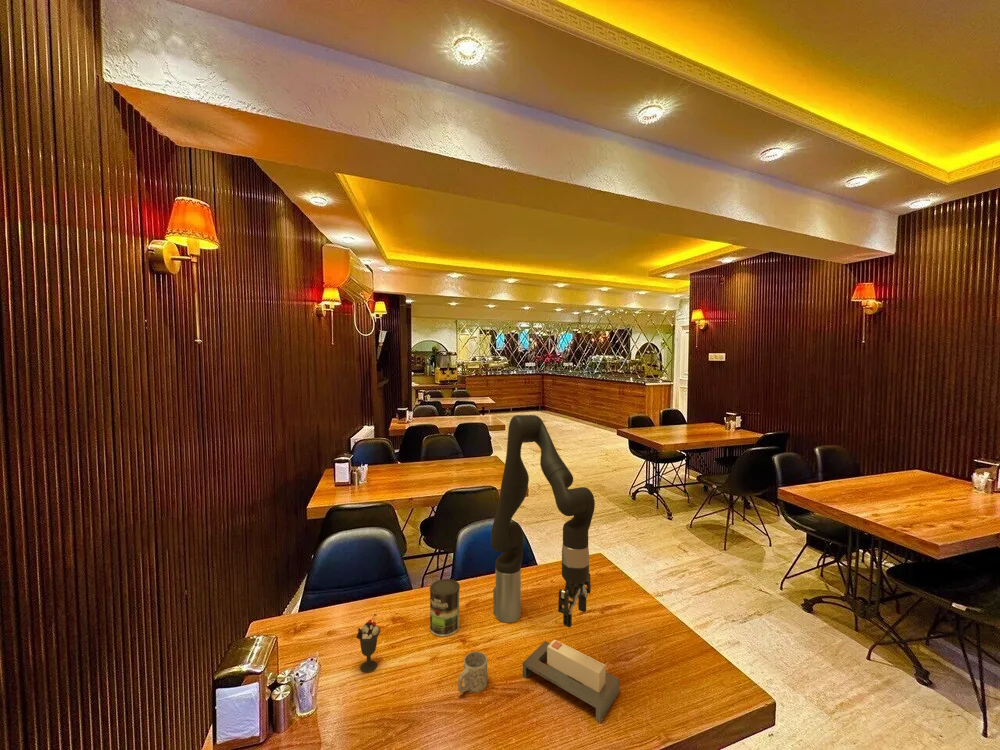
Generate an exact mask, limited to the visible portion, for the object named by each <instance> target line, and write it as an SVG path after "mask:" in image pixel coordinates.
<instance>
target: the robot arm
mask: <svg viewBox="0 0 1000 750" xmlns="http://www.w3.org/2000/svg"><path fill="white" fill-rule="evenodd" d="M523 443H525V444H526V443H536V445H537V446H538V447H539V449H540V462H539V464H540V468H541V471H542V473H543V475H544V477H545V478H546V480H547V482H548V484H549V485H550V487H551V490H552V493H553V496H554V500H555V504H556V507H557V509H558V512H560V514H562V515H563V516H565V517H572V518H571V519H569V520H567V521H566V522H564V524H563V527H562V548H561V577H562V579H564V581H565V585H564V586H565V587H564V589H562V588H560V589H559V590H558V602H557V603H558V605H557V607H558V608H557V610H558V613H560V614H562V615H563V616H562V617H563V621H562V622H563V625H564V627H567V628H571V627H572V626H573V625H572V624H573V615H572V613H573V609H574V606H575V607H576V605H577V604H578V605H577V606H578V610H579V611H580V612H582V613H586V612H587V599H588V597H589V595H590V594H591V591H592V590H591V589H592V586H591V573H590V551H589V531H590V527H591V523H592V520H593V516H594V512H595V506H596V503H595V502H596V501H595V500H596V499H595V497H594V494H593V492H592V491H591V490H590V489H589V488H588V487H585V486H584V487H583V486H580V487H576V488H575V487H574V488H570V487H571V486H572V485H573V483H574V475H572V472H571V471H570V469H569V468H568V467H567V465H566V464H565V461H563V460H562V458H561V456H560V455H559V453H558V450H557V448H556V446H555V445H554V443H553V440H552V437H551V436H550V434H549V431H548V428H547V427H546V425H545V423H544V421H543V420H542V418H541V417H540V416H539V415H537V414H536V415H535V414H518V415H513V416H512V418H511V419H510V421H509V424H508V432H507V443H506V456H505V463H504V468H503V474H502V480H501V484H500V491H499V492H500V493H499V497H498V498H499V499H498V503H497V508H496V512H495V516H494V519H493V522H492V526H491V530H490V543H491V546H492V547H491V548H492V549H493V550H494V551H495V552H496V553H501V554H500V555H498V557H497V558H496V559H495V564H494V565H495V586H494V587H493V589H492V591H493V592H492V593H493V597H492V598H493V600H492V601H493V602H492V603H493V606H492V607H493V608H492V609H493V612H492V613H493V615H494V616H495V617H496V620H498V621H499V620H500V622H502V623H507V624H509V623H510V622H512V623H515V622H518V619H519V618H521V617H520V616H522V615H521V614H522V591H521V588H522V583H521V582H522V580H521V579H522V577H521V575H522V573H521V572H522V571H521V569H522V562H523V560H524V559H523V556H524V533H523V529H522V526H521V525H520V523H519V522H517V521H515V520H514V521H512V519H513V517H514V516H515V514H516V512H517V511H518V510H519V508H520V507H521V505H522V504H523V502H524V501H525V498H526V497H527V491H528V487H529V481H530V476H529V473H528V470H527V468H526V466H525V464H524V461H523V459H522V455H521V454H522V453H521V452H522V445H523ZM588 594H589V595H588ZM570 599H571V600H570ZM577 601H578V603H577ZM519 620H520V619H519ZM514 621H515V622H514Z"/></svg>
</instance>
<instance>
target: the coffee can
mask: <svg viewBox="0 0 1000 750" xmlns="http://www.w3.org/2000/svg"><path fill="white" fill-rule="evenodd" d="M429 586H430V587H429V591H430V596H429V598H430V599H429V601H430V602H429V605H430V607H429V610H430V611H429V631H430V632H431V634H433V635H434V636H436V637H442V638H443V637H450V636H451V635H454V634H455V633H457V632H458V631H459V629H460V589H461V585H460V582H458V581H457V580H455V579H451V578H442V579H441V578H440V579H439V580H436V581H434V582H432V584H430V585H429Z"/></svg>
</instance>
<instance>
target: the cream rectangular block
mask: <svg viewBox="0 0 1000 750" xmlns="http://www.w3.org/2000/svg"><path fill="white" fill-rule="evenodd" d="M549 643H550V644H549V645H548V646H547V657H546V665H548V666H550V667H553V668H555V669H557V670H559V671H561V672H563V673H564V674H566V675H568V676H570V678H571V679H573V680H575V681H577V682H579V683H580V684H582V685H583V684H584V685H586V686H588V687H590V688H591V689H593V690H595V691H597V692H600V691H601V689H602V688H603V686H604V685H605V672H606V664H605V663H603V662H600V661H598V660H597V659H595V658H593V657H590V656H588V655H587V654H585V653H583V652H580V651H578V650H576V649H575V648H572V647H571V646H569V645H567V644H564V643H563V642H560V641H559V640H556V639H555V638H554V639H553V640H552V641H551V642H549Z"/></svg>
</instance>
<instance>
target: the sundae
mask: <svg viewBox="0 0 1000 750" xmlns="http://www.w3.org/2000/svg"><path fill="white" fill-rule="evenodd" d="M376 616H377V614H376V613H374V614H373V616H372V618H370V620H368V621H367V622H366V623H364V624H363V626H362V627H361V628H360V627H358V628H357V631H358V632H357V634H356V639H358V640H359V643H360V650H361V654H362V655H363V656H364V657H366V660H365V661H364V662H362V664H361V665H360V667H359V670H360V671H361V672H362V673H364V674H366V673H367V674H368V673H371V672H373V671H375V670H377V667H378V662H377V661H376V660H374V659H373V660H372V655H373V654H374V653H375V652H376V650H377V645H378V644H377V643H378V637H379V635H380V634H381V629H380V628H379V626H378V625H377V623H376V621H372V620H374V619H375V617H376Z"/></svg>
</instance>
